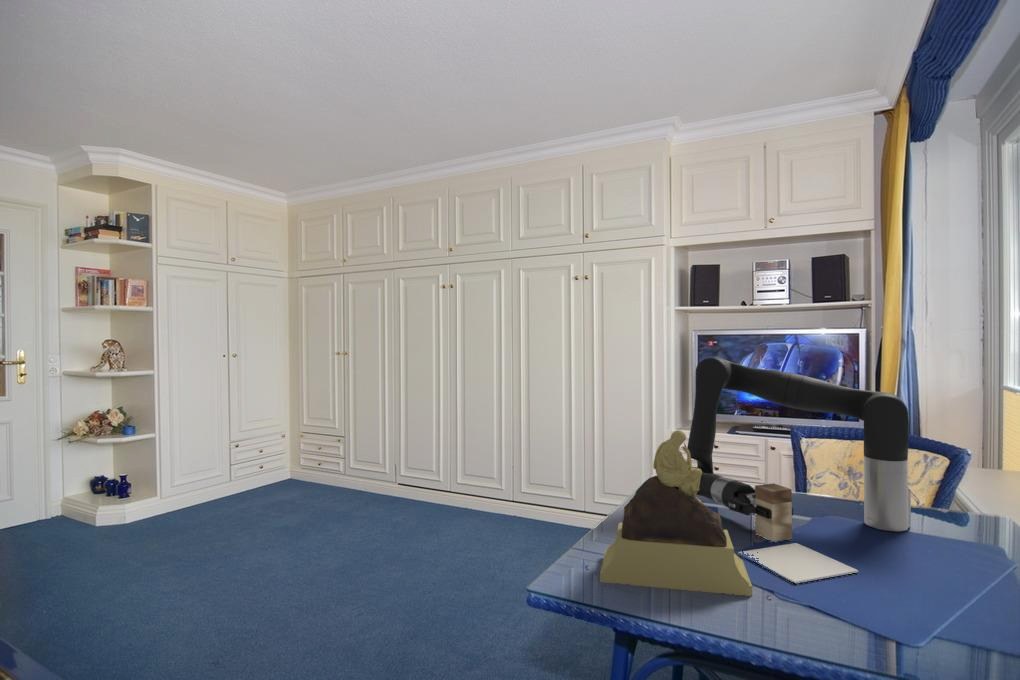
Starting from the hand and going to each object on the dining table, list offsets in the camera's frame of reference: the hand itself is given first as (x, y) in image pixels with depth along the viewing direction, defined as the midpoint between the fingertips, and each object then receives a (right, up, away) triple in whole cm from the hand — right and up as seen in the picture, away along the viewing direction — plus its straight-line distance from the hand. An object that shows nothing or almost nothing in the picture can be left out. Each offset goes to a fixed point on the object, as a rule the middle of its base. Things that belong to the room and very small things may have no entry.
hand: (781, 513), depth 133 cm
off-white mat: (-3, -7, -13) cm, 15 cm away
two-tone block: (-1, -6, +2) cm, 7 cm away
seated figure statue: (-31, -7, -18) cm, 36 cm away
